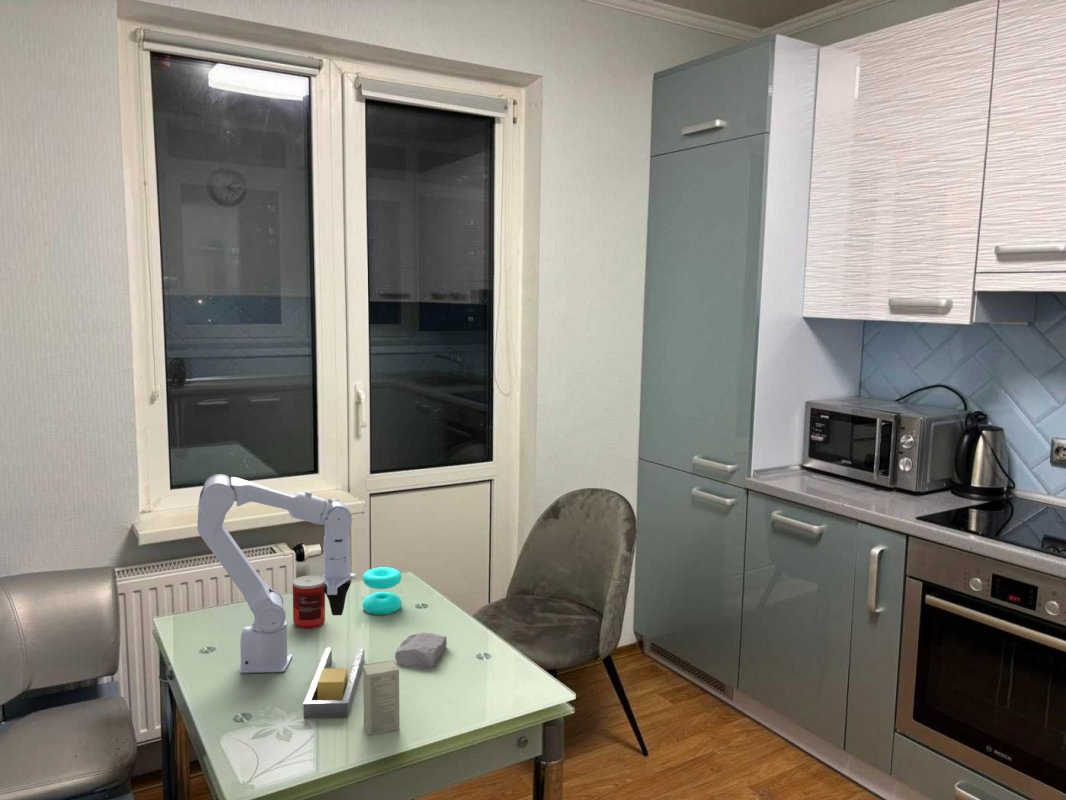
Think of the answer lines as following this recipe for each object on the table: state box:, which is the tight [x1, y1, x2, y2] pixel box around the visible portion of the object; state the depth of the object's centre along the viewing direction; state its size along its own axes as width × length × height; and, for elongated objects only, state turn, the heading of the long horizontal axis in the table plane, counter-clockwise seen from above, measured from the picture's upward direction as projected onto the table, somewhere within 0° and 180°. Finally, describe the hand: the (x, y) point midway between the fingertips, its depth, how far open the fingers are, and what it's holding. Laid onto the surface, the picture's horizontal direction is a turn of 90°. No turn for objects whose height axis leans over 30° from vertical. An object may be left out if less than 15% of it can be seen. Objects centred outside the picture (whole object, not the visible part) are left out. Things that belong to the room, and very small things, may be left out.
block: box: [317, 667, 348, 701], centre depth 162 cm, size 5×6×4 cm
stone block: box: [394, 632, 448, 669], centre depth 182 cm, size 12×5×10 cm
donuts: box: [362, 566, 402, 615], centre depth 209 cm, size 10×10×10 cm
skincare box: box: [362, 659, 401, 736], centre depth 151 cm, size 6×4×12 cm
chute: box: [302, 646, 365, 719], centre depth 166 cm, size 8×25×3 cm, turn 5°
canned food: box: [292, 574, 326, 630], centre depth 198 cm, size 8×8×11 cm
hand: (337, 614), depth 180 cm, fingers closed
